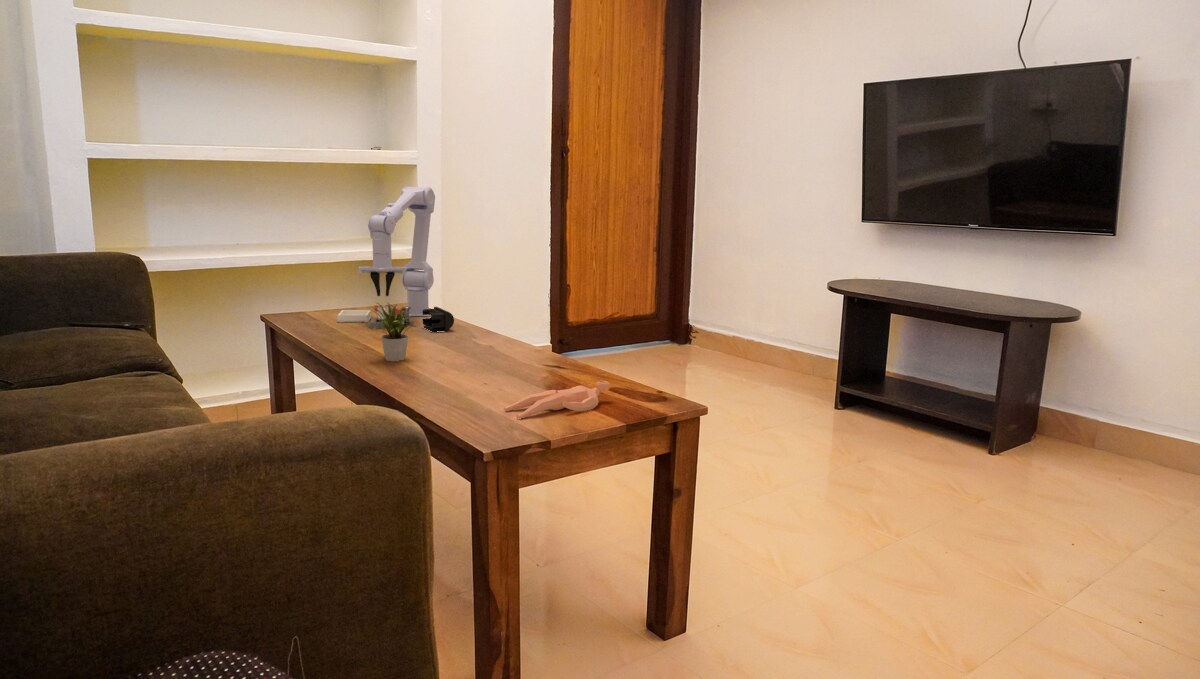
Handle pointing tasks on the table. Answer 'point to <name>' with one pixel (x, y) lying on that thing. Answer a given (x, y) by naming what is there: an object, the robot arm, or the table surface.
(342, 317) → the tray
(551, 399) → the male figurine
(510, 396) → the table surface
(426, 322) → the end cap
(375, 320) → the grey flat square ring
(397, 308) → the bar
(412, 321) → the keeper post
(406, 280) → the robot arm
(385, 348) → the house plant
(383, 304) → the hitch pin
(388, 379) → the table surface
